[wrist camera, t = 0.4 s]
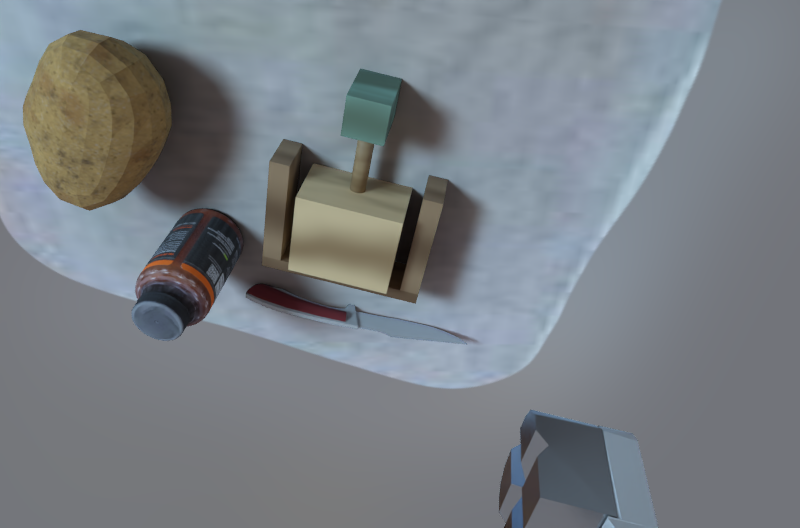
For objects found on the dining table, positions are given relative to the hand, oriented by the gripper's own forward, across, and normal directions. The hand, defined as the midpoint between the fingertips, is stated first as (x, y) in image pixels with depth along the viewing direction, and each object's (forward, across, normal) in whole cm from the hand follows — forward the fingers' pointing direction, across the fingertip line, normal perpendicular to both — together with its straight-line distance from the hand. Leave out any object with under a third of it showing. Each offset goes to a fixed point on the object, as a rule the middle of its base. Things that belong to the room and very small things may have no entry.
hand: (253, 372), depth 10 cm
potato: (+40, +22, +14) cm, 47 cm away
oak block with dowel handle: (+40, +3, +15) cm, 42 cm away
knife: (+42, +1, +29) cm, 51 cm away
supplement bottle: (+41, +15, +25) cm, 50 cm away
